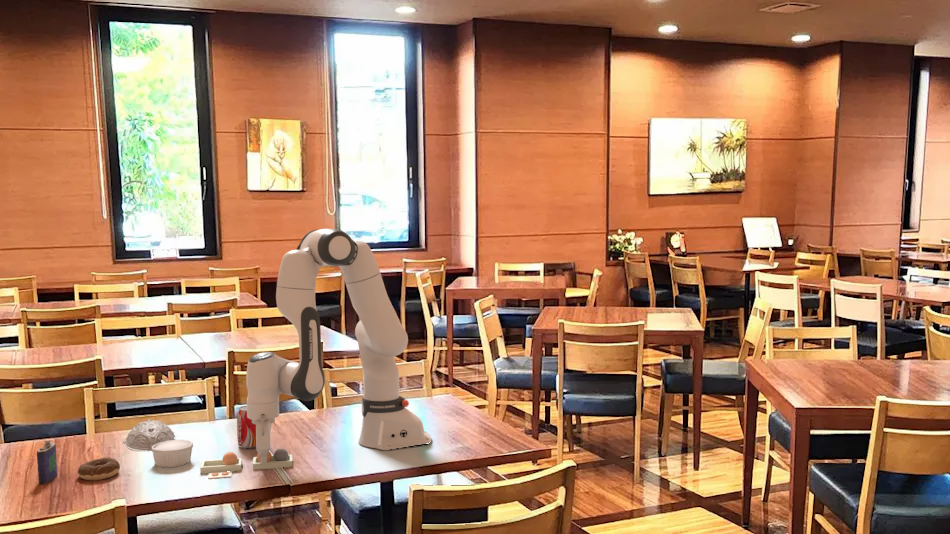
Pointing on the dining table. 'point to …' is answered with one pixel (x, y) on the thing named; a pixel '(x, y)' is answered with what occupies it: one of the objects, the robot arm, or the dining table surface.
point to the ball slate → (280, 455)
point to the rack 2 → (272, 463)
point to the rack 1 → (219, 466)
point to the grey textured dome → (148, 435)
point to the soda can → (245, 429)
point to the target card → (219, 475)
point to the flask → (47, 463)
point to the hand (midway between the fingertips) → (264, 458)
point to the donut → (99, 469)
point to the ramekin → (172, 453)
